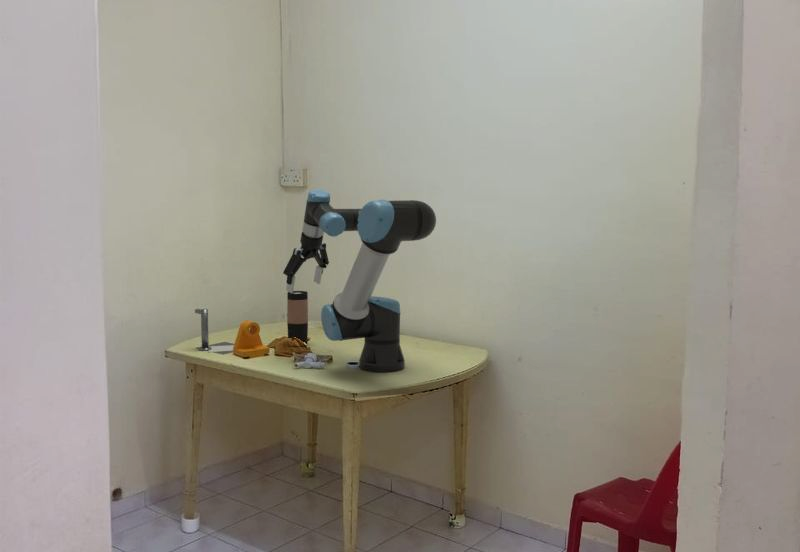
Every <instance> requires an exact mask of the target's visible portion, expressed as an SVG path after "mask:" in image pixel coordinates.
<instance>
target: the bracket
mask: <svg viewBox="0 0 800 552" xmlns="http://www.w3.org/2000/svg"><path fill="white" fill-rule="evenodd" d="M260 331H261V328H260V324H258V323H257V322H254V321H252V320H244V321H242V322H241V323H240V325H239V328H238V332H237V334H236V338H235V341H234V343H233V344H234V347H233V353H232V354H233V355H236V356H238V357H241V358H248V359H256V358H261V357H265V355H266V354H270V346H267V345H264V344H263V341H262V339H261V336H260Z"/></svg>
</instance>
